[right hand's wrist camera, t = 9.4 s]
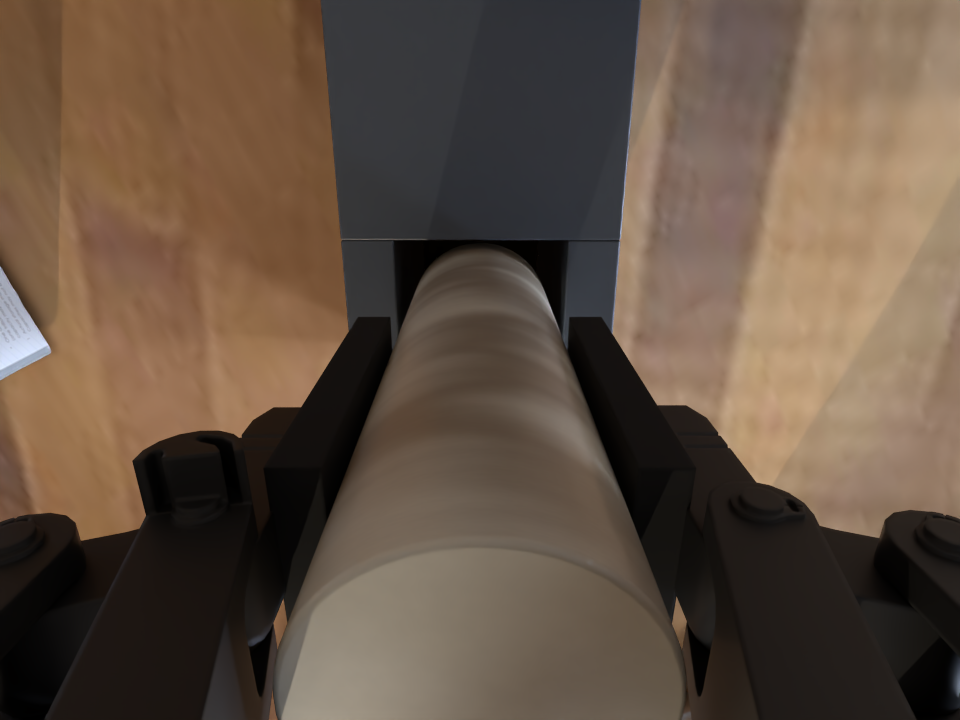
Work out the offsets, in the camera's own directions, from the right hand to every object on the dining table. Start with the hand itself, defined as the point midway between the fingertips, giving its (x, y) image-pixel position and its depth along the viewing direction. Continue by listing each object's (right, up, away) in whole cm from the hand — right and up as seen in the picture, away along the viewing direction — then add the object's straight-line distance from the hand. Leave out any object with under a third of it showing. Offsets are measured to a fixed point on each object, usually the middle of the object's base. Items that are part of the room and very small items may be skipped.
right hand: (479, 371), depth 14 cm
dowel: (0, +2, +5) cm, 5 cm away
